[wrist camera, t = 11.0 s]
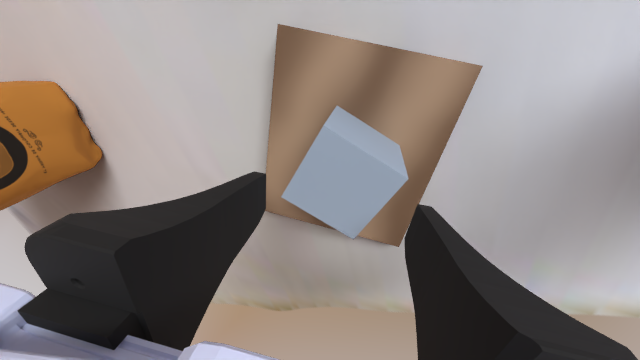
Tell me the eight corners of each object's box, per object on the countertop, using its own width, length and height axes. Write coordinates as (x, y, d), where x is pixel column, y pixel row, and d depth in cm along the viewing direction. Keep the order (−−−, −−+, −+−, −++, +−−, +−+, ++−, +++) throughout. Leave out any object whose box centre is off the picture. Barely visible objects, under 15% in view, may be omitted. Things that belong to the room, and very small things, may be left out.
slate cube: (399, 145, 17) (408, 178, 12) (358, 196, 19) (353, 239, 15) (336, 105, 16) (323, 125, 12) (302, 162, 19) (281, 197, 14)
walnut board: (473, 64, 15) (482, 66, 14) (397, 235, 22) (398, 246, 21) (285, 26, 16) (277, 23, 15) (269, 200, 23) (262, 210, 22)
